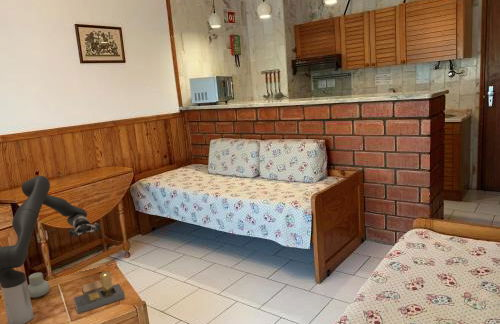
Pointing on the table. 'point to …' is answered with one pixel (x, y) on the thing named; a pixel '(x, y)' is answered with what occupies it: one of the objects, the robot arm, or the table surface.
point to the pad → (91, 287)
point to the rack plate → (97, 299)
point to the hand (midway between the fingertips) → (86, 233)
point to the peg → (106, 283)
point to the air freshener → (37, 285)
